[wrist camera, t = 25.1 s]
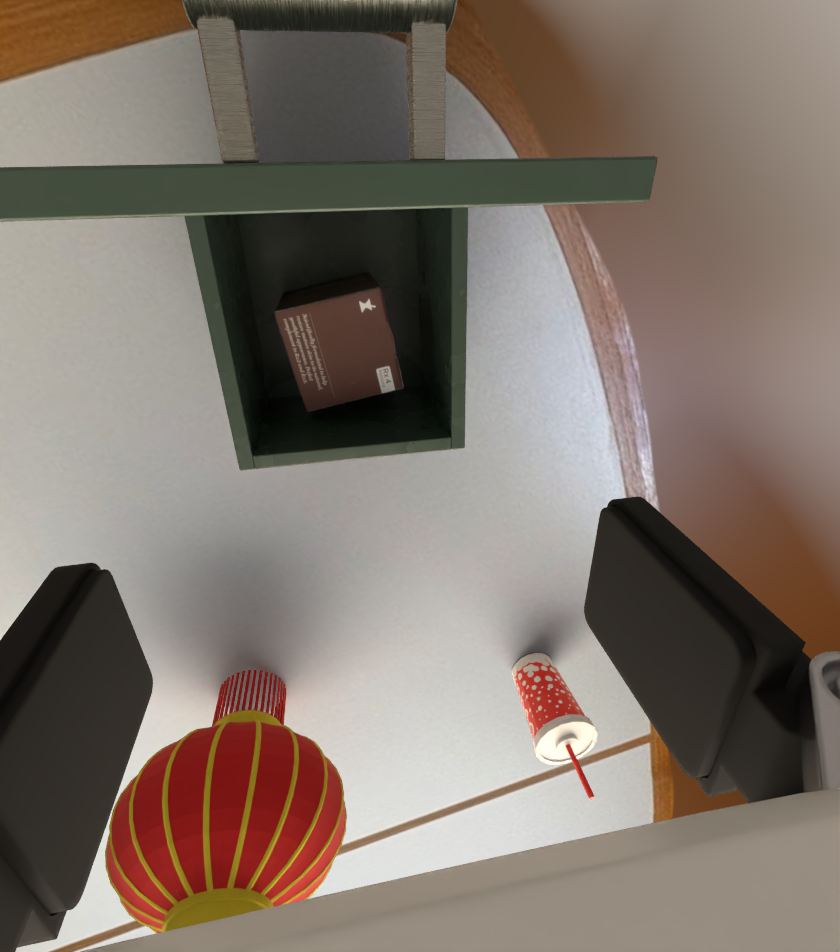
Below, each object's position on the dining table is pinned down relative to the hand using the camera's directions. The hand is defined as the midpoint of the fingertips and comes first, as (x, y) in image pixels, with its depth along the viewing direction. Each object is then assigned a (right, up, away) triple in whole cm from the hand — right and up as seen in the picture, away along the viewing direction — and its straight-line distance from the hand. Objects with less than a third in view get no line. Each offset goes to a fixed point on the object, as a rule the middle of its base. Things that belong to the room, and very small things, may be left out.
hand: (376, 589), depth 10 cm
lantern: (-16, -19, +40) cm, 47 cm away
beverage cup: (+13, -19, +45) cm, 51 cm away
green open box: (-5, +14, +25) cm, 29 cm away
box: (-5, +13, +25) cm, 28 cm away
